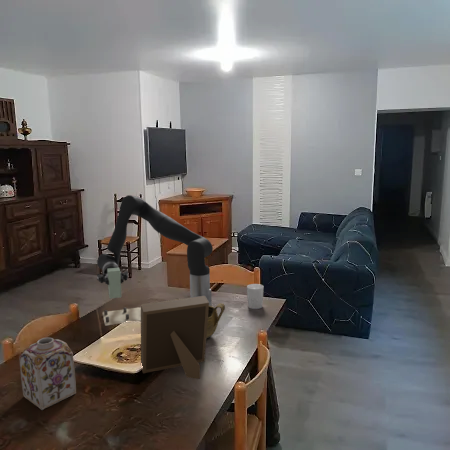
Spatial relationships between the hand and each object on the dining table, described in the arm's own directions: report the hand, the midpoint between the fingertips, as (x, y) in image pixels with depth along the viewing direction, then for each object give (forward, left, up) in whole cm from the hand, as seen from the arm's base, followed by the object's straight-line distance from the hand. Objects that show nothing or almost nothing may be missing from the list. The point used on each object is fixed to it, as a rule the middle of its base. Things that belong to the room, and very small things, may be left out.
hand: (114, 281), depth 184 cm
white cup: (-64, +4, -18) cm, 66 cm away
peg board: (-7, -3, -18) cm, 19 cm away
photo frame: (-15, +50, -18) cm, 56 cm away
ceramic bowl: (-29, +27, -18) cm, 44 cm away
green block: (0, -3, -7) cm, 8 cm away
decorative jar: (+25, +50, -18) cm, 59 cm away
